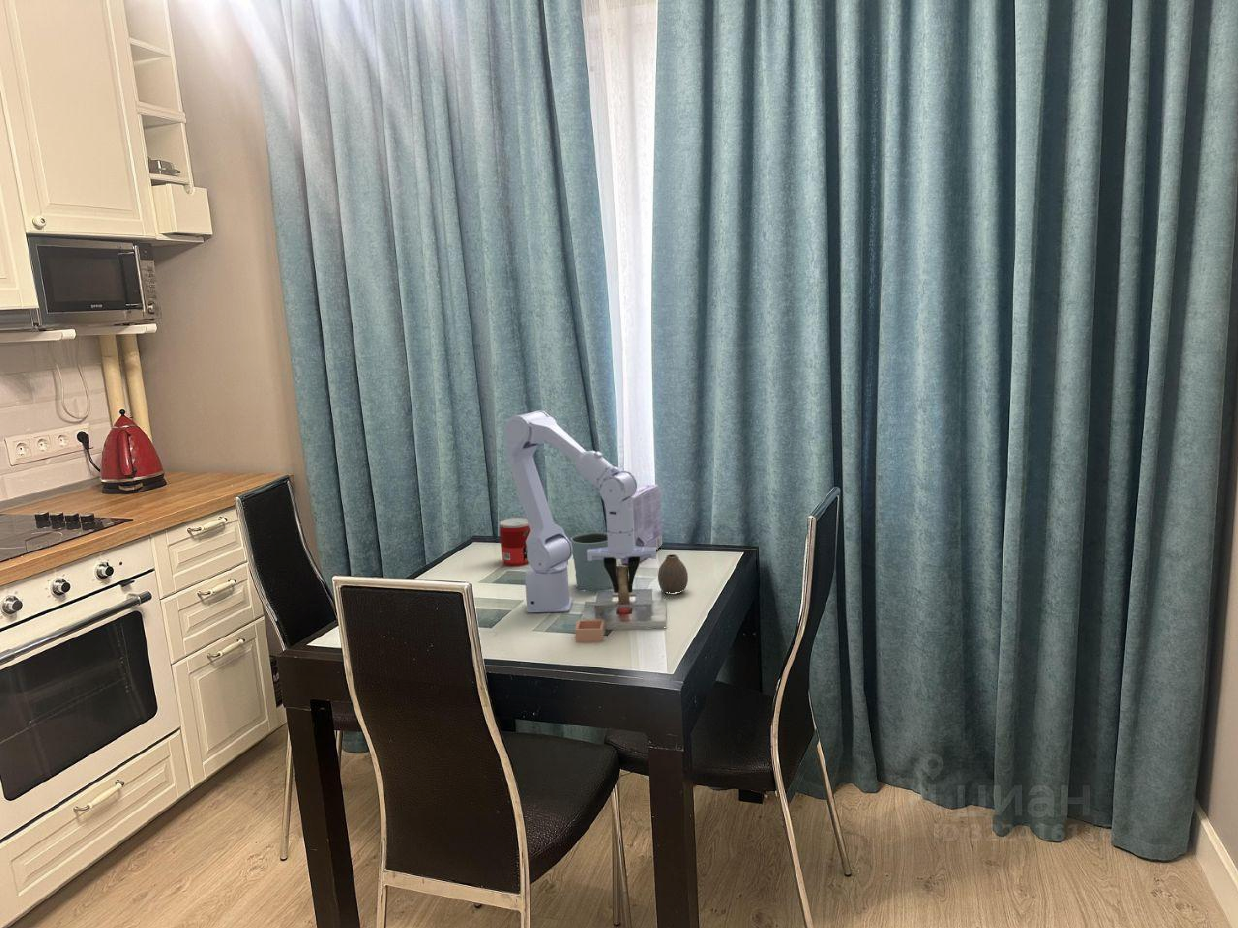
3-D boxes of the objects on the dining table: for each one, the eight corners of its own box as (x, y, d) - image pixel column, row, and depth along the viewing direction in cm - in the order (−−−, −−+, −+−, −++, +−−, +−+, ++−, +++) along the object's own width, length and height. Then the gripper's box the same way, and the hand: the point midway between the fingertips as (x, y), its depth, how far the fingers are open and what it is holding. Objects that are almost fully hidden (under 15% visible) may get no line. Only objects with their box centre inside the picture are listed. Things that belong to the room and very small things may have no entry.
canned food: (531, 565, 237) (528, 524, 235) (500, 566, 237) (497, 526, 235) (534, 557, 244) (531, 517, 242) (504, 558, 245) (501, 518, 243)
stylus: (618, 602, 194) (616, 568, 193) (618, 598, 197) (616, 565, 195) (629, 602, 194) (627, 568, 193) (629, 598, 197) (628, 564, 195)
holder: (575, 641, 184) (574, 630, 184) (578, 631, 190) (577, 620, 189) (603, 641, 184) (602, 629, 183) (605, 630, 189) (604, 619, 189)
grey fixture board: (580, 630, 190) (578, 610, 190) (585, 608, 203) (584, 589, 202) (666, 628, 189) (665, 608, 188) (666, 606, 202) (665, 587, 201)
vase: (663, 598, 208) (662, 561, 206) (654, 589, 214) (653, 553, 213) (692, 594, 209) (691, 557, 208) (682, 585, 216) (681, 549, 214)
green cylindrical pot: (610, 593, 213) (607, 543, 211) (568, 592, 215) (565, 542, 213) (618, 579, 223) (616, 531, 220) (578, 578, 225) (576, 531, 222)
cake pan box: (648, 544, 251) (646, 482, 248) (665, 546, 249) (663, 483, 246) (618, 565, 234) (615, 498, 231) (636, 566, 232) (633, 499, 229)
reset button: (617, 615, 195) (617, 604, 194) (618, 610, 198) (617, 599, 197) (630, 614, 195) (630, 603, 194) (631, 610, 197) (630, 599, 197)
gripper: (584, 535, 189) (588, 598, 192) (654, 533, 188) (657, 596, 191) (587, 526, 196) (590, 587, 199) (655, 524, 195) (657, 585, 198)
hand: (623, 591), depth 195 cm, fingers closed on stylus, 2 cm apart
